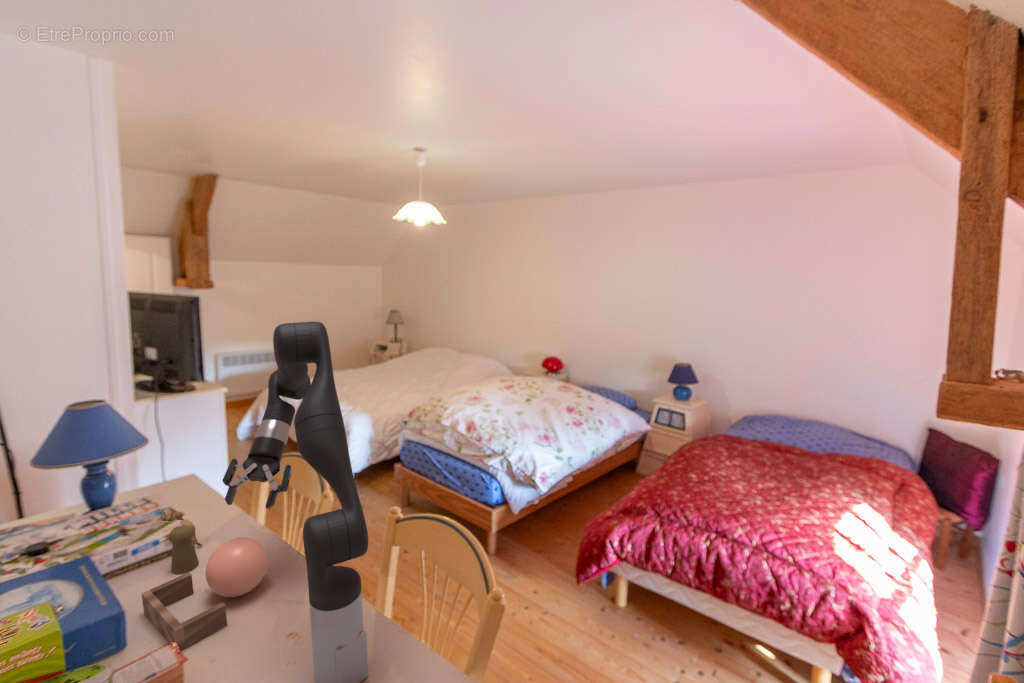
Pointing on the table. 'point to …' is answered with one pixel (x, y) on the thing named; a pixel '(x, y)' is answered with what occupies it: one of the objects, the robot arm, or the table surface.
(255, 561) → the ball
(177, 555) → the cork
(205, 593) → the table surface
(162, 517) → the lion figurine
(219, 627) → the stall
